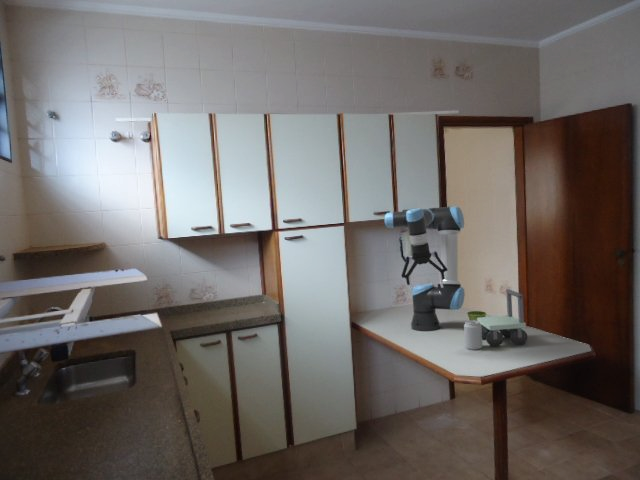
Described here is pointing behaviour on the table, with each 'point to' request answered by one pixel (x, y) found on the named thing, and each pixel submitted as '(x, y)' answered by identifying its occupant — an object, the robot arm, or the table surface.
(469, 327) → the can
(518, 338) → the trolley
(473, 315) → the plant pot
